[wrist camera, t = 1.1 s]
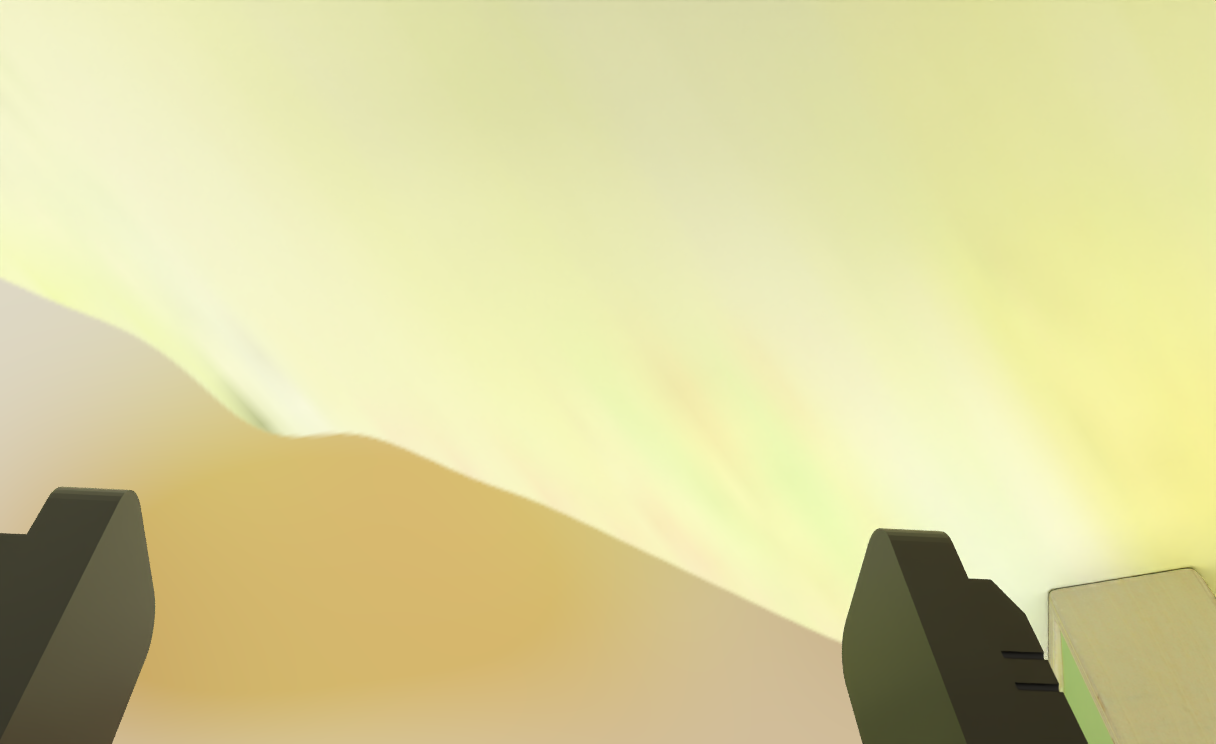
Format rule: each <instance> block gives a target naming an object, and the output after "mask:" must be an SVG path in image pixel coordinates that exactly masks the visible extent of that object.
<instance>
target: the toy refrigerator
mask: <svg viewBox="0 0 1216 744" xmlns="http://www.w3.org/2000/svg"><path fill="white" fill-rule="evenodd" d="M1049 664H1050V666H1051V668H1052V670H1053V672H1054V674H1055V676H1056V678H1057V680H1058V682H1059V691H1060V692H1063V693H1064V695H1065V697H1066V699H1067V701H1068V703H1069V705H1070V707H1071V709H1072V711H1073V713H1074V715H1075V717H1076V719H1077V721H1078V723H1079V725H1080V728H1081V730H1082V732H1083V734H1084V736H1085V738H1086V740H1087V742H1088V744H1216V598H1215V596H1214V595H1213V593H1212V592H1211V590H1210V589H1209V587H1208V585H1207V584H1206V582H1205V581H1204V579H1203V578H1202V577H1201V575H1200V574H1199V573H1198V572H1197V571H1195V570H1193V569H1190V568H1189V569H1180V570H1174V571H1168V572H1162V573H1156V574H1148V575H1143V576H1138V577H1130V578H1123V579H1117V580H1111V581H1104V582H1100V583H1093V584H1086V585H1080V586H1074V587H1068V588H1062V589H1057V590H1053V591H1051V592H1050V594H1049Z"/></svg>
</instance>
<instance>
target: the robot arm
mask: <svg viewBox="0 0 1216 744" xmlns="http://www.w3.org/2000/svg"><path fill="white" fill-rule="evenodd" d="M154 617H155V597H154V589H153V582H152V576H151V570H150V564H149V557H148V551H147V544H146V538H145V532H144V525H143V519H142V513H141V508H140V502H139V499H138V497H137V495H136V493H135V492H134V491H132V490H115V489H96V488H95V489H94V488H76V487H58V488H57V489H55V490H54V491H53V492H52V493H51V494H50V496H49V497H48V499H47V501H46V502H45V504H44V506H43V508H42V509H41V511H40V513H39V514H38V516H37V518H36V520H35V521H34V523H33V525H32V526H31V528H30V530H29V531H28V533H27V534H4V533H0V744H112V742H113V739H114V737H115V734H116V732H117V729H118V727H119V724H120V722H121V719H122V717H123V714H124V712H125V709H126V707H127V704H128V702H129V699H130V696H131V694H132V691H133V689H134V686H135V684H136V681H137V679H138V676H139V673H140V671H141V669H142V666H143V664H144V661H145V659H146V656H147V653H148V650H149V646H150V643H151V638H152V633H153V627H154ZM1043 654H1044V652H1043V650H1042V647H1041V645H1040V643H1039V641H1038V639H1037V637H1036V635H1035V633H1034V631H1033V629H1032V627H1031V625H1030V623H1029V621H1028V619H1027V617H1026V615H1025V613H1024V612H1023V611H1022V610H1021V609H1020V608H1019V607H1018V606H1017V605H1016V604H1015V603H1014V602H1013V601H1012V600H1011V599H1010V598H1009V597H1008V596H1007V595H1006V594H1005V593H1004V592H1003V591H1002V590H1001V589H1000V588H999V587H998V586H997V585H996V584H995V583H994V582H993V581H992V580H988V579H968V576H967V574H966V572H965V570H964V567H963V565H962V563H961V561H960V558H959V556H958V554H957V552H956V549H955V547H954V545H953V543H952V541H951V539H950V537H949V536H948V535H947V534H946V533H945V532H942V531H923V530H902V529H882V528H880V529H877V530H875V531H874V533H873V534H872V536H871V538H870V541H869V544H868V547H867V550H866V554H865V557H864V561H863V564H862V568H861V571H860V574H859V578H858V581H857V585H856V588H855V592H854V595H853V598H852V602H851V605H850V609H849V612H848V616H847V619H846V623H845V627H844V632H843V641H842V663H843V673H844V678H845V683H846V686H847V690H848V693H849V697H850V701H851V704H852V707H853V711H854V715H855V718H856V722H857V725H858V729H859V732H860V736H861V739H862V743H863V744H1088V742H1087V740H1086V738H1085V736H1084V734H1083V732H1082V730H1081V728H1080V725H1079V723H1078V721H1077V719H1076V717H1075V715H1074V713H1073V711H1072V709H1071V707H1070V705H1069V703H1068V701H1067V699H1066V697H1065V695H1064V693H1063V692H1060V691H1059V682H1058V680H1057V678H1056V676H1055V674H1054V672H1053V670H1052V668H1051V666H1050V664H1049V662H1048V660H1044V657H1043Z"/></svg>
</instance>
